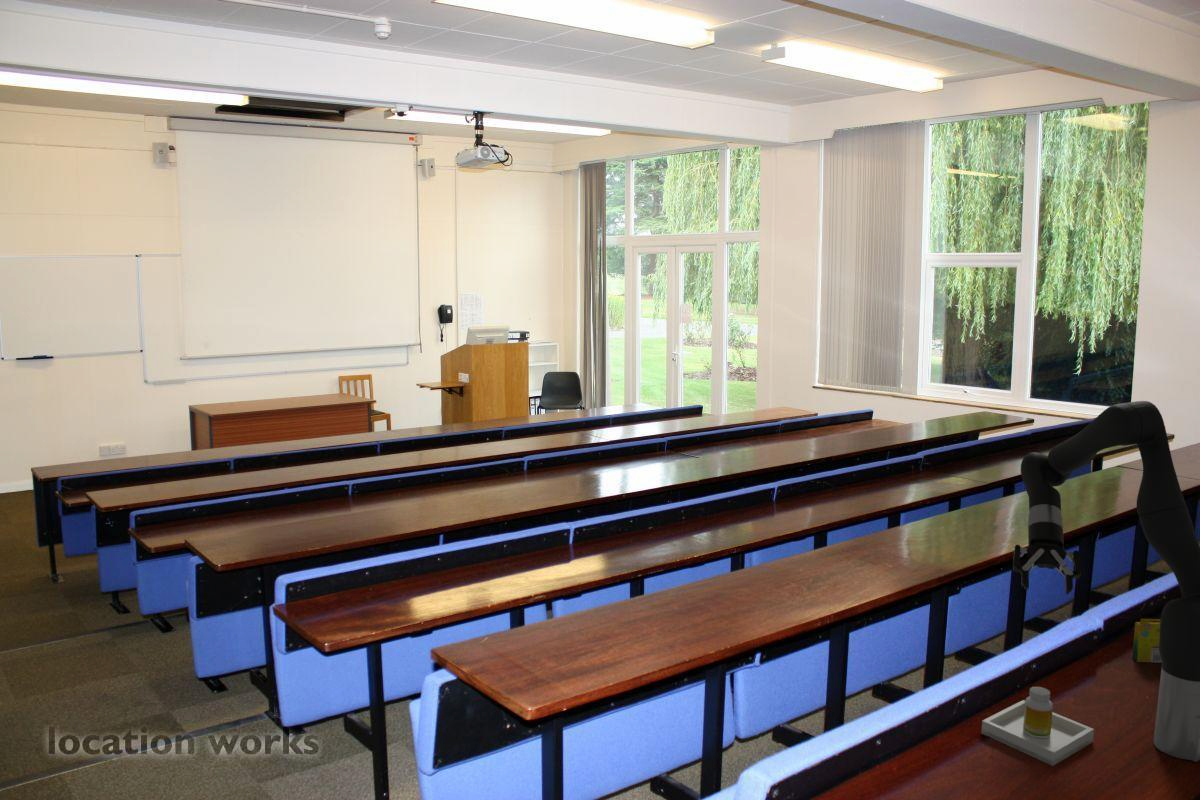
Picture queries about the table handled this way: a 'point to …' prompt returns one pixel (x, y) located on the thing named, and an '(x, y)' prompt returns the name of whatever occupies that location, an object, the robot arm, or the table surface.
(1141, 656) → the crayon box
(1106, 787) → the table surface
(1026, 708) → the supplement bottle
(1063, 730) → the tray
